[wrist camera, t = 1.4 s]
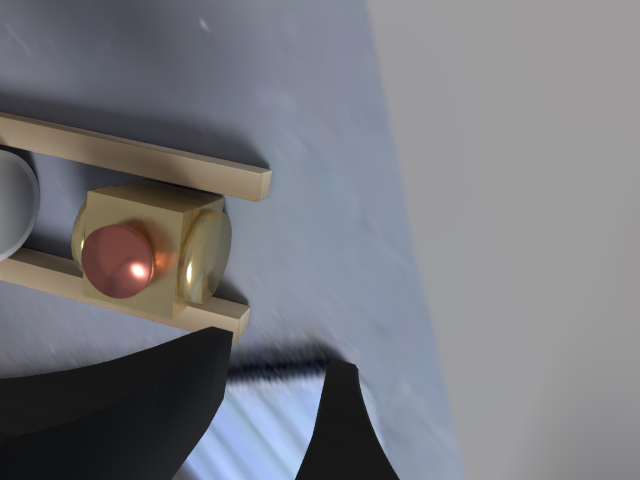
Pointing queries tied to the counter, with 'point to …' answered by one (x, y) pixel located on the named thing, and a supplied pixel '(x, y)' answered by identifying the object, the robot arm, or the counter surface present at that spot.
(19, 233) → the coupling
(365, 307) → the counter surface
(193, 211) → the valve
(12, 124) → the guide rails
